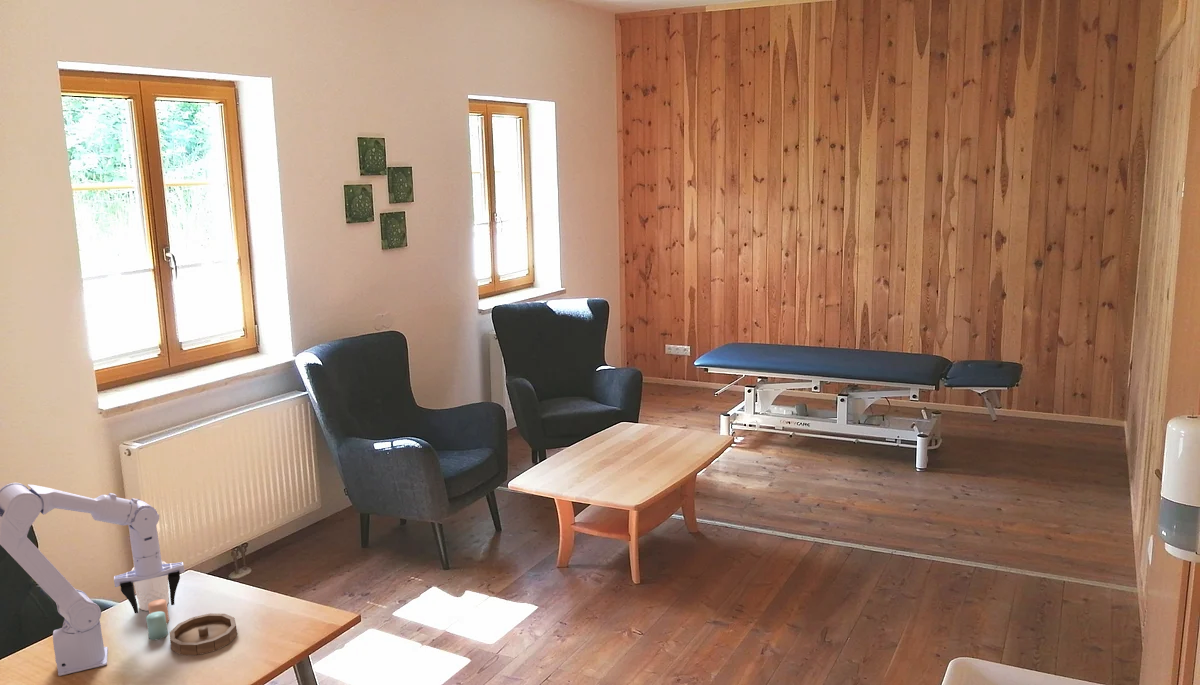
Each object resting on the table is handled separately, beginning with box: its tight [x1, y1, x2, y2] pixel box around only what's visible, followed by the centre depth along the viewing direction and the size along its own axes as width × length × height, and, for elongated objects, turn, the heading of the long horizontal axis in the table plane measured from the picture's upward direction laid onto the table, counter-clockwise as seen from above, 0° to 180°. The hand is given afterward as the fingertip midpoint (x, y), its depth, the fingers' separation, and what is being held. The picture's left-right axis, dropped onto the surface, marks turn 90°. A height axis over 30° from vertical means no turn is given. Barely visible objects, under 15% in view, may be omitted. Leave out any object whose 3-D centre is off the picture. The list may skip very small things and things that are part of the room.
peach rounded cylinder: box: [148, 599, 170, 624], centre depth 229 cm, size 4×4×5 cm
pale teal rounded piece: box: [145, 611, 169, 641], centre depth 223 cm, size 4×4×5 cm
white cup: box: [130, 560, 170, 612], centre depth 237 cm, size 8×8×10 cm
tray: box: [169, 613, 238, 656], centre depth 221 cm, size 14×14×2 cm
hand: (154, 607), depth 222 cm, fingers open, 7 cm apart
